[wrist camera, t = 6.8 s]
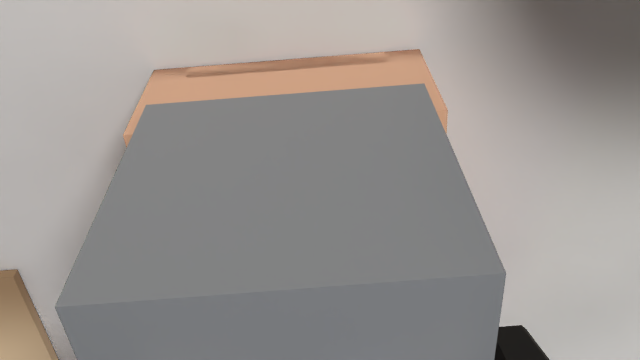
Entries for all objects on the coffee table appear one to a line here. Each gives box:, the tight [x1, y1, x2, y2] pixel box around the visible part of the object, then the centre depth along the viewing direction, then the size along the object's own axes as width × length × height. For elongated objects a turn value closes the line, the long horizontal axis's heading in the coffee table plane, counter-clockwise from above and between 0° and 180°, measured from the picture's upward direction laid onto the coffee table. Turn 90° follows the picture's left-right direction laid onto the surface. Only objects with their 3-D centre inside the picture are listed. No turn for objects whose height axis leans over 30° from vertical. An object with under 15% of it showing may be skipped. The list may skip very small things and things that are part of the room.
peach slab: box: [123, 49, 448, 147], centre depth 15 cm, size 9×6×3 cm, turn 4°
